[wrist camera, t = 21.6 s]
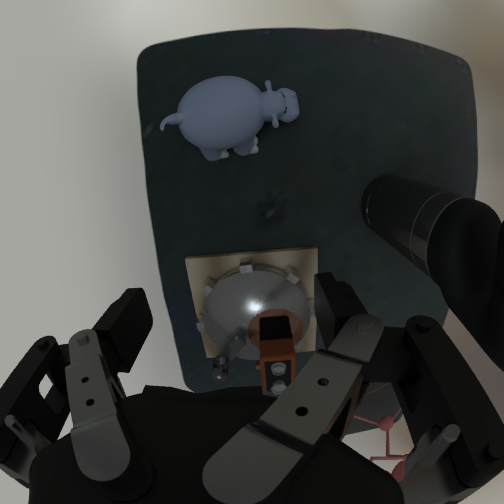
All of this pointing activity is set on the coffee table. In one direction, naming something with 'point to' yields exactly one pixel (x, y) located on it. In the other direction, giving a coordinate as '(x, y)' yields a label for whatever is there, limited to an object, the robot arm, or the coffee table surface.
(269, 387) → the battery
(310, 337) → the sprocket base
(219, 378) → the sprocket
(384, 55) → the coffee table surface
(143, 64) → the coffee table surface
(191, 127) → the hippopotamus toy
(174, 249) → the coffee table surface
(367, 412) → the coffee table surface
